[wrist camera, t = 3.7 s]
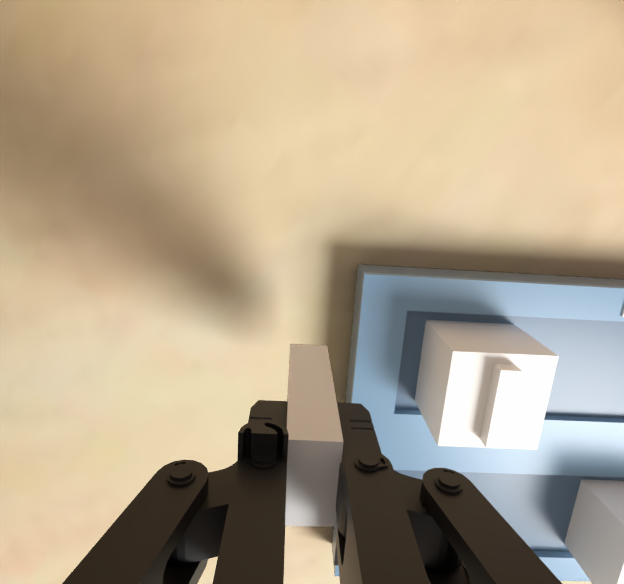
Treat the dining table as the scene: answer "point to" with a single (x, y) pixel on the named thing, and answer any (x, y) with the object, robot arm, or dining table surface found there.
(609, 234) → the dining table surface
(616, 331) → the switch bank
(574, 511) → the tab far
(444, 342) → the tab near
